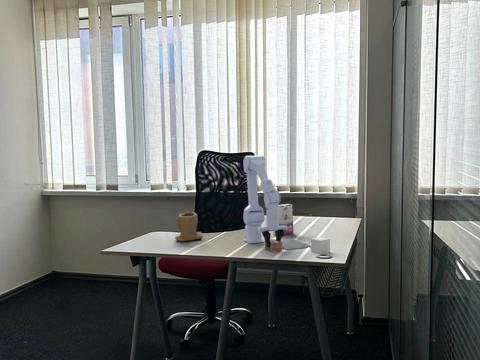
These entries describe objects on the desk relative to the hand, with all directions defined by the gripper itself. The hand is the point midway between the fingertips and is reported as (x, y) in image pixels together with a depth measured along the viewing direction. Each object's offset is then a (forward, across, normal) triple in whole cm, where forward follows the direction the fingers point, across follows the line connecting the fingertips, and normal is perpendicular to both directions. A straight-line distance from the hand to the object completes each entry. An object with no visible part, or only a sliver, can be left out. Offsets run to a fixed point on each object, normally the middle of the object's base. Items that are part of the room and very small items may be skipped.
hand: (273, 246), depth 214 cm
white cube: (+2, +17, -14) cm, 22 cm away
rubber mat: (+2, +12, +5) cm, 13 cm away
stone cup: (+2, -28, +41) cm, 50 cm away
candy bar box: (+2, +22, +31) cm, 38 cm away
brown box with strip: (+2, 0, 0) cm, 2 cm away
